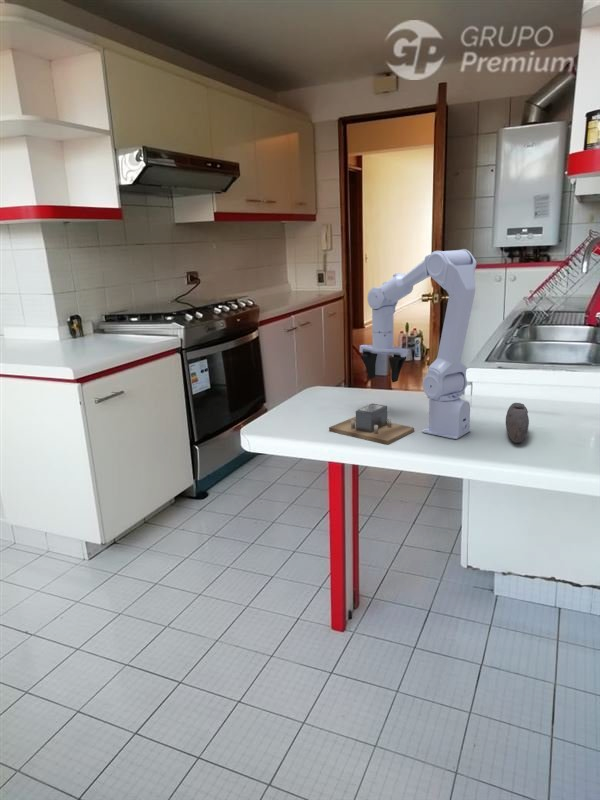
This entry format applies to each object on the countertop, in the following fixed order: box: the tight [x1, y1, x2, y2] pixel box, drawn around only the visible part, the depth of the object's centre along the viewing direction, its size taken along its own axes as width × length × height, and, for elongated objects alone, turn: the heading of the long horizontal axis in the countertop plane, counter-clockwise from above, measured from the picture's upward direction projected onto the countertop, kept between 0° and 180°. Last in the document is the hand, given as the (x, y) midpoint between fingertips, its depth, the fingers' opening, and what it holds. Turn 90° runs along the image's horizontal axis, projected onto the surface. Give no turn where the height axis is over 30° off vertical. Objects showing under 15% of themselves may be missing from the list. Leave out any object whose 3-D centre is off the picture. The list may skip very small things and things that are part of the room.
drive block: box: [355, 403, 388, 433], centre depth 143 cm, size 4×8×5 cm, turn 142°
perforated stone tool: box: [505, 402, 530, 444], centre depth 134 cm, size 15×5×7 cm, turn 159°
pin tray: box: [328, 416, 415, 446], centre depth 144 cm, size 18×12×3 cm, turn 48°
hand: (383, 379), depth 157 cm, fingers open, 7 cm apart
